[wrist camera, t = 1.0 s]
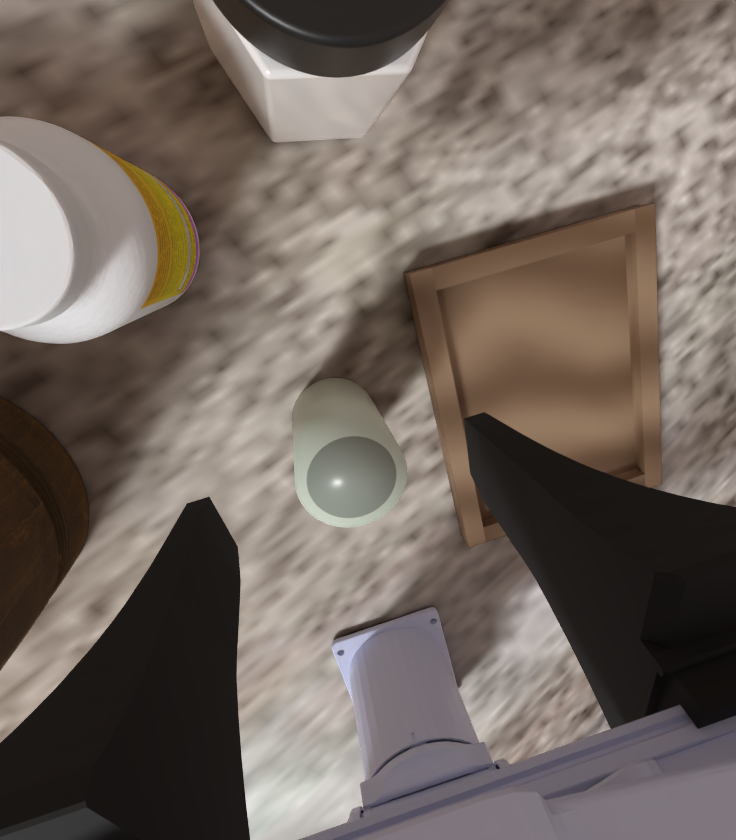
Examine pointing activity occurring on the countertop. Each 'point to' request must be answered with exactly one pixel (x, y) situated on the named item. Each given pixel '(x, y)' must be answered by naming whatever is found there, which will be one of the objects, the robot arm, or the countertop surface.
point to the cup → (344, 455)
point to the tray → (547, 350)
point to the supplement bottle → (84, 237)
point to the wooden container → (34, 522)
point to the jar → (317, 59)
